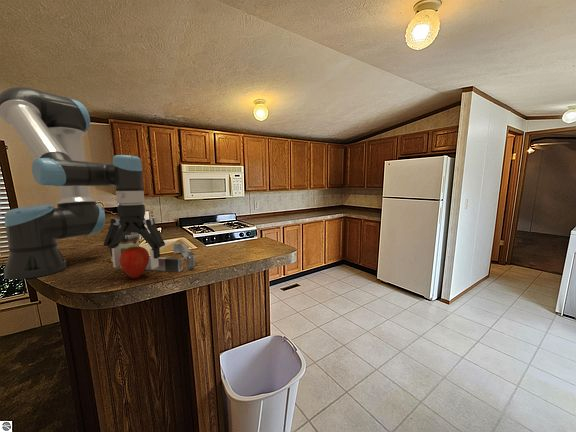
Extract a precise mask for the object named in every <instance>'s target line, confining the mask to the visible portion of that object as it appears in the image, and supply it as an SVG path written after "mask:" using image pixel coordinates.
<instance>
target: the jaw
mask: <svg viewBox="0 0 576 432" xmlns="http://www.w3.org/2000/svg"><path fill="white" fill-rule="evenodd" d="M172 248H173V254H175V255H176V254H181V256H183V258H184V259H185V261H187V256H190V255H192V256H193V257H194V266H196V260H195V259H196V257H195V253H194V252H193V251H191V249H190V248H189V247H188V246H187V245H186V244H185V243H184V242H175V243H172Z"/></svg>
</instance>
